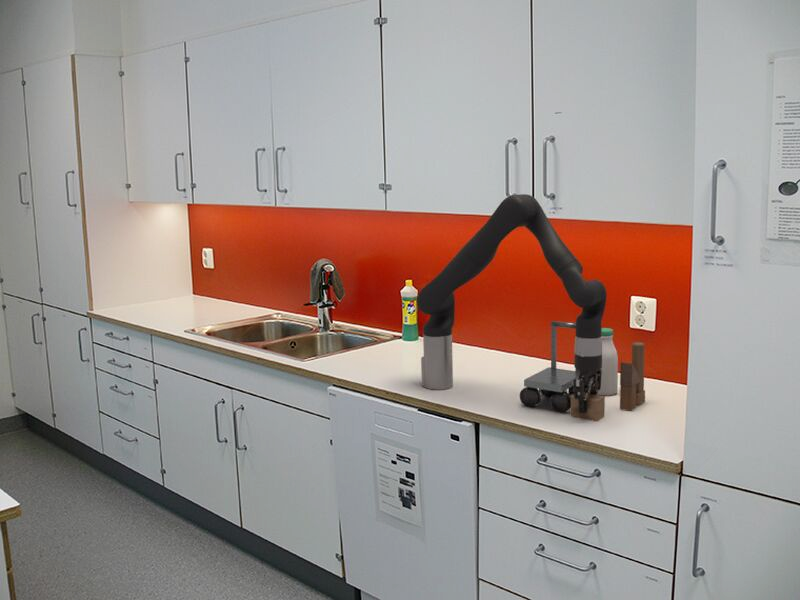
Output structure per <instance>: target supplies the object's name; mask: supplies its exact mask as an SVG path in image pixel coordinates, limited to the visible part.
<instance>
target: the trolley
mask: <svg viewBox="0 0 800 600" xmlns="http://www.w3.org/2000/svg"><path fill="white" fill-rule="evenodd" d="M557 328H565V329H573V330H574V329H575V330H576V322H566V321H558V320H557V321H556V320H552V321H551V322H550V329H551V330H550V335H551V336H550V367H547V368H544V369H542V370H541V371H538V372H536V373H535V374H532V375H530V376H529V377H527V378H524V379H523V387H524V388H522V389H521V391H520V393H519V400H520V402H521V404H522V405H523V406H524V407H527V408H534V407H535V406H537V405H539V404H540V403H541V400H542V396H543V397H545V398H550V406H551V408H552V409H553V410H554V411H555V412H557V413H558V414H564V413H566V412H568V411H569V410H571V396H573V395H574V379H578V378H579V373H580V371H579V370H578V369H576V368H575V367H574V368H575V370H569V369H564V368H558V367H557V348H558V347H557V344H558V342H557V336H558V335H557ZM584 389H587V388H584ZM584 393H585V392H584ZM588 394H589V393H588Z"/></svg>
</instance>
